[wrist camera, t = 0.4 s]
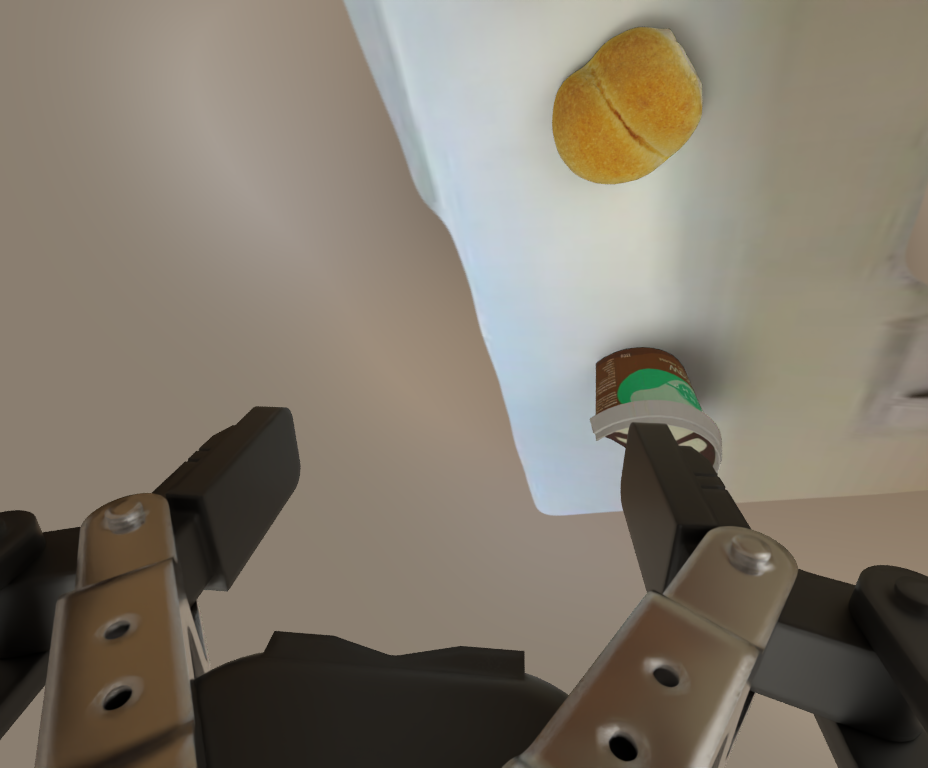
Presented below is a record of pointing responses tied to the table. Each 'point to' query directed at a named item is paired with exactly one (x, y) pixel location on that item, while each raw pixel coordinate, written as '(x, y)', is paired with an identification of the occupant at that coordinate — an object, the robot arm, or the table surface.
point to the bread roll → (627, 107)
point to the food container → (651, 400)
